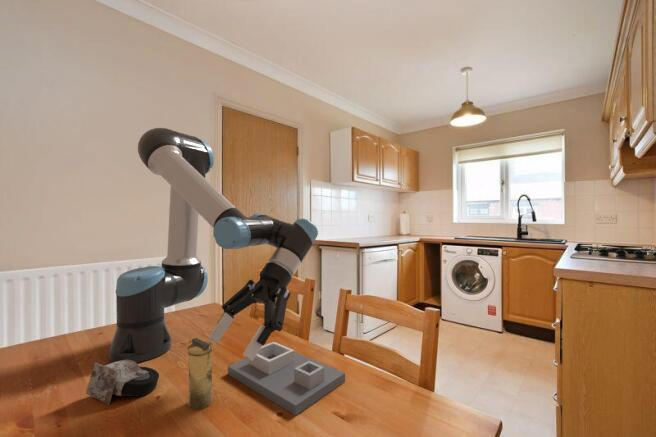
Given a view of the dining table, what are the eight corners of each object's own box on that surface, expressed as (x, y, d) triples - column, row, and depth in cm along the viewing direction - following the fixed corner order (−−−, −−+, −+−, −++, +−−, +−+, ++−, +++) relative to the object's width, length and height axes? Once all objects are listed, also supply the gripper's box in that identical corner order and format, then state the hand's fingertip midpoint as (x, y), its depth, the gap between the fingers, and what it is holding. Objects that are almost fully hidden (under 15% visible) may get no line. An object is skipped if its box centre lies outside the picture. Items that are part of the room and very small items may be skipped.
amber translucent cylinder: (183, 403, 63) (182, 342, 63) (205, 393, 67) (205, 335, 67) (195, 414, 60) (195, 349, 60) (217, 402, 63) (217, 341, 63)
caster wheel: (161, 394, 71) (123, 415, 61) (125, 377, 74) (82, 394, 64) (170, 365, 71) (133, 381, 62) (133, 349, 74) (92, 362, 65)
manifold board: (227, 374, 75) (227, 353, 75) (277, 351, 87) (277, 334, 87) (295, 415, 59) (295, 390, 59) (345, 381, 72) (345, 360, 72)
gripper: (323, 285, 72) (276, 374, 61) (257, 272, 88) (210, 341, 77) (308, 266, 68) (254, 357, 57) (242, 256, 84) (189, 327, 72)
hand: (228, 348), depth 67 cm, fingers open, 13 cm apart
